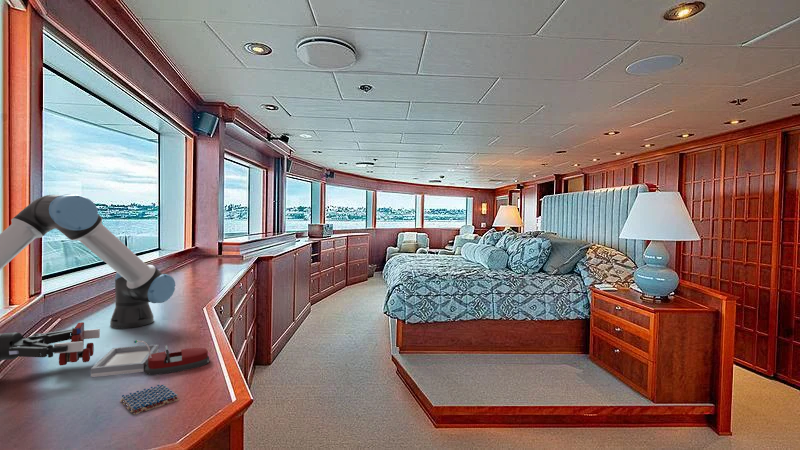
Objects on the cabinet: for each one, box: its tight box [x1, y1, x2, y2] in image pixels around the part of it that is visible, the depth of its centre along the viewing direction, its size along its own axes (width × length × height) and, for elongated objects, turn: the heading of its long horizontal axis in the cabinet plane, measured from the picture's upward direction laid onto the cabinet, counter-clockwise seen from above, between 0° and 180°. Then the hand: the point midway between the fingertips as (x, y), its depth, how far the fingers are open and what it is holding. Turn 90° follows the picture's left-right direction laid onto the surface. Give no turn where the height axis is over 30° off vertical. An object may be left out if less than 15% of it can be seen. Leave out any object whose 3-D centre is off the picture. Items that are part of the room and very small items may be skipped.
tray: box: [90, 344, 160, 378], centre depth 123 cm, size 18×13×2 cm
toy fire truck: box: [58, 321, 95, 367], centre depth 119 cm, size 7×12×10 cm, turn 30°
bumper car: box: [133, 339, 210, 376], centre depth 121 cm, size 10×20×10 cm, turn 124°
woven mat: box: [119, 384, 180, 415], centre depth 99 cm, size 10×11×2 cm
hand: (91, 339), depth 120 cm, fingers closed on toy fire truck, 12 cm apart
